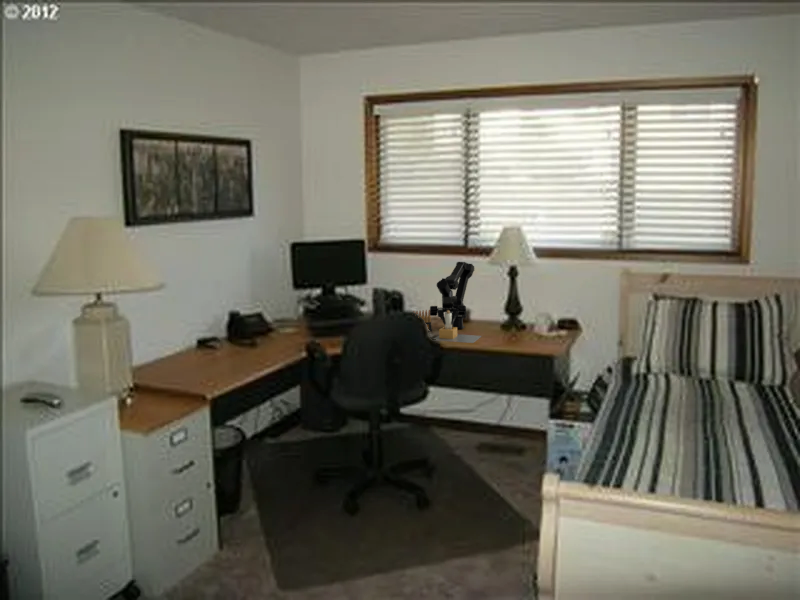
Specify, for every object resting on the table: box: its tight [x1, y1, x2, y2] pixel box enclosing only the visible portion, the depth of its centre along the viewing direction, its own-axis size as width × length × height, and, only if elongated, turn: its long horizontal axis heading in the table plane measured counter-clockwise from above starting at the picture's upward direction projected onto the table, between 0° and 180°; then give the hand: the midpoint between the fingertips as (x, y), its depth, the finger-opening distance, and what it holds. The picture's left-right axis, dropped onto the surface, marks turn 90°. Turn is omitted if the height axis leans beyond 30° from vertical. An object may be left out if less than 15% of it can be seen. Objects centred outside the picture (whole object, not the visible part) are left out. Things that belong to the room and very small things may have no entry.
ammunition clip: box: [412, 309, 433, 332], centre depth 380 cm, size 11×2×12 cm, turn 107°
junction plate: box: [433, 326, 482, 344], centre depth 360 cm, size 16×22×6 cm
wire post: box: [444, 310, 453, 330], centre depth 362 cm, size 4×4×12 cm
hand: (448, 324), depth 361 cm, fingers closed on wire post, 3 cm apart
